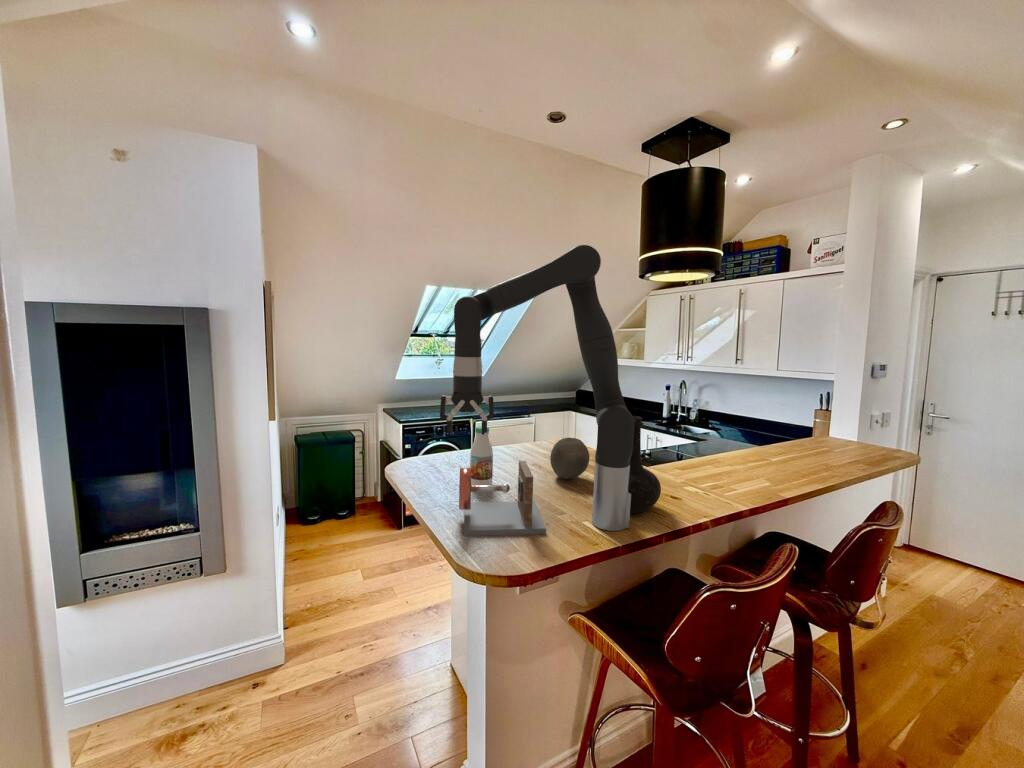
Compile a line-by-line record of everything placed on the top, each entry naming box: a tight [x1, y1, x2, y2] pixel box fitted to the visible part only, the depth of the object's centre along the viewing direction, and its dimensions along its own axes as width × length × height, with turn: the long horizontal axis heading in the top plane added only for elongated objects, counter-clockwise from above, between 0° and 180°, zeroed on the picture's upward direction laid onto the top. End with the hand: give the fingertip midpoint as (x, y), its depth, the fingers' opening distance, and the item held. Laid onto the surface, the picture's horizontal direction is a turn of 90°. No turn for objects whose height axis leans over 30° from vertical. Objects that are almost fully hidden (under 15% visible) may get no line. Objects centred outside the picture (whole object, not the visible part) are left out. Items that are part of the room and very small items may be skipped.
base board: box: [463, 500, 547, 537], centre depth 114 cm, size 21×18×2 cm
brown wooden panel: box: [517, 460, 534, 525], centre depth 114 cm, size 3×14×13 cm, turn 6°
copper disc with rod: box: [458, 467, 511, 511], centre depth 113 cm, size 14×11×11 cm
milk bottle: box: [469, 425, 494, 486], centre depth 140 cm, size 8×8×20 cm
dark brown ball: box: [549, 437, 591, 480], centre depth 149 cm, size 14×14×15 cm
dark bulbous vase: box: [628, 415, 662, 514], centre depth 124 cm, size 18×18×28 cm
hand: (466, 434), depth 111 cm, fingers open, 8 cm apart
